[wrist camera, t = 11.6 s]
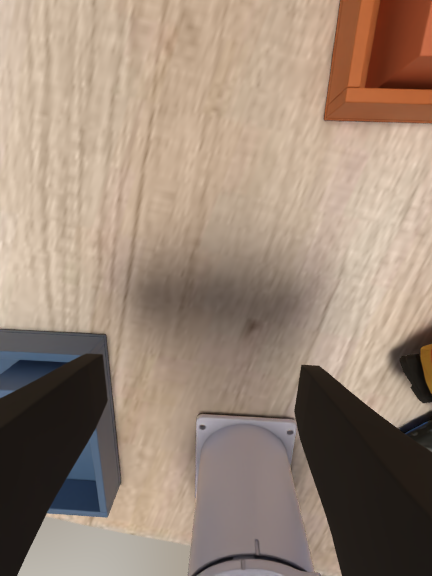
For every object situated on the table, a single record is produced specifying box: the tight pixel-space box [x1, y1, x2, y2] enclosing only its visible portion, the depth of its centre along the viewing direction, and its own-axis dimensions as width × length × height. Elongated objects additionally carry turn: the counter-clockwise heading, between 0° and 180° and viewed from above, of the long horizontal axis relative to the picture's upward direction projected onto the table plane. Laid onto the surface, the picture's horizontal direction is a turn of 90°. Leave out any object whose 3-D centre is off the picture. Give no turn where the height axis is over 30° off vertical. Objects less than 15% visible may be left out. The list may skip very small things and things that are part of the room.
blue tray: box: [0, 329, 121, 517], centre depth 21 cm, size 15×13×3 cm
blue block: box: [0, 360, 68, 398], centre depth 19 cm, size 4×4×4 cm
